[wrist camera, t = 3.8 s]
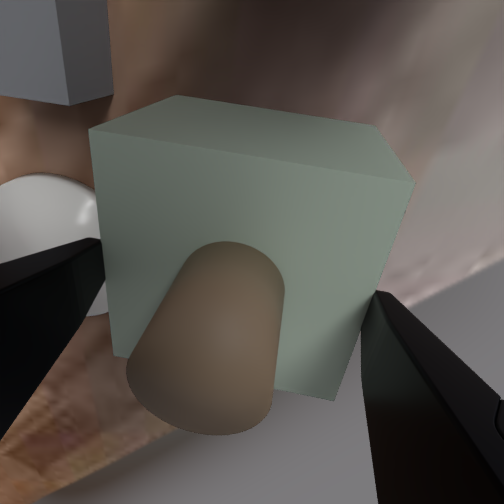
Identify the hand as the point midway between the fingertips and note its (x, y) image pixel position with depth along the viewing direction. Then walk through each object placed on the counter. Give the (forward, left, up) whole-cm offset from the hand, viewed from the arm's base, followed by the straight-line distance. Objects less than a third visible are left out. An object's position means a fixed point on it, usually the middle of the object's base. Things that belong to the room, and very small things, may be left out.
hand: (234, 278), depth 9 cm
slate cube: (+7, -9, -12) cm, 16 cm away
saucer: (+15, 0, -11) cm, 19 cm away
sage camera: (0, 0, -5) cm, 5 cm away
